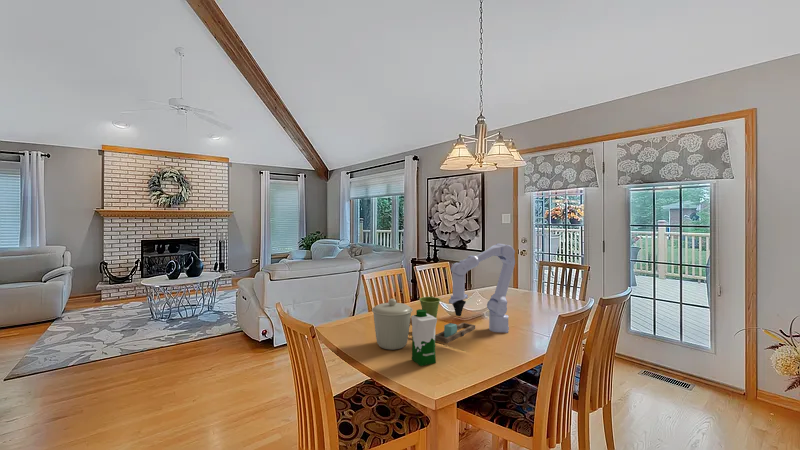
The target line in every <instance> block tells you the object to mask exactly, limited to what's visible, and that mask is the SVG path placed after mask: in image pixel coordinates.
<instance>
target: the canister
mask: <svg viewBox="0 0 800 450" xmlns="http://www.w3.org/2000/svg"><path fill="white" fill-rule="evenodd" d="M371 311H372V314H373V321H374V322H373V323H374V332H375V338H376V343H377V345H378V346H379V347H380V348H382V349H385V350H389V351H390V350H391V351H392V350H399V349H403V348H405V346H406V345H407V343H408V340H409V333H410V325H411V316H412V315H411V314H412V312H413V311H414V309H413V308H412V307H411V306H410V305H408V304H406V303H402V302H397V300H396V299H395V298H390V299H388V302H384V303H383V302H382V303H379V304H376V305H375V306H373V307H372V309H371Z"/></svg>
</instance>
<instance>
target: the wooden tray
mask: <svg viewBox="0 0 800 450" xmlns="http://www.w3.org/2000/svg"><path fill="white" fill-rule="evenodd" d="M474 330H476V324H473V323H472V324H471V323H467V322H460V323H459V324H457V333H455V334H453V335H451V336H449V337H447V338H446V337H444V330H443V331H441V332H438V333H435V344H436V343H437V344H441V345H444V346H446V344H448V343H451V342H453V341H454V340H455V341H456V339H459V338H460V337H464V335H467V334H468V333H471V332H472V331H474Z"/></svg>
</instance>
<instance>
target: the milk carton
mask: <svg viewBox="0 0 800 450" xmlns="http://www.w3.org/2000/svg"><path fill="white" fill-rule="evenodd" d="M415 313H416V314H414V315H411V318H410V320H411V326H412V327H411V328H412V330H411V332H412V334H411V336H412V337H411V344H412V345H411V351H412V352H411V360H412V361H413V362H414V363H416V364H417V365H418V366H420V367H423V366H428V365H432V364H437V363H436V362H437V360H436V359H437V358H436V356H437V355H436V340H435V335H436V327H437V321H438V318H437V317H436V318H435V317H434V316H431V315H429V314H426V310H423V309H422V308H420V309H416V311H415Z"/></svg>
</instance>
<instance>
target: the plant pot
mask: <svg viewBox="0 0 800 450" xmlns="http://www.w3.org/2000/svg"><path fill="white" fill-rule="evenodd" d="M441 300H442V299H441V298H439V297H436V296H435V297H434V296H422V297H419V298H418V301H419V302H420V307H421V309H423V310H426V314H429V315H431V316H434V317H435V318H437V316H438V312H439V305H440V302H441Z"/></svg>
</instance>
